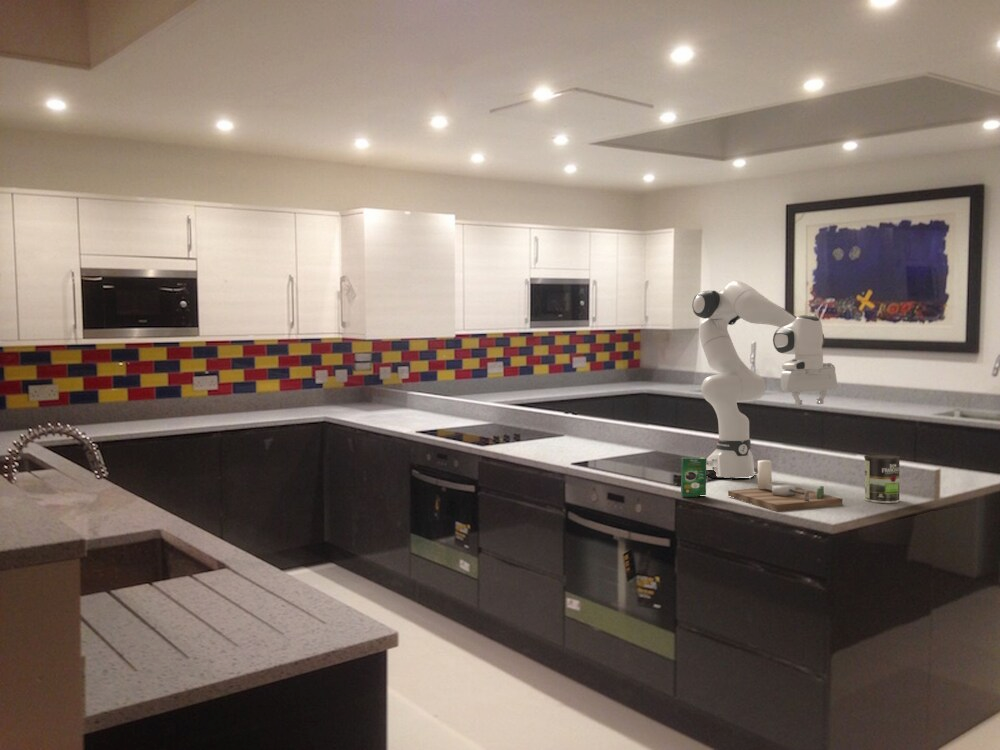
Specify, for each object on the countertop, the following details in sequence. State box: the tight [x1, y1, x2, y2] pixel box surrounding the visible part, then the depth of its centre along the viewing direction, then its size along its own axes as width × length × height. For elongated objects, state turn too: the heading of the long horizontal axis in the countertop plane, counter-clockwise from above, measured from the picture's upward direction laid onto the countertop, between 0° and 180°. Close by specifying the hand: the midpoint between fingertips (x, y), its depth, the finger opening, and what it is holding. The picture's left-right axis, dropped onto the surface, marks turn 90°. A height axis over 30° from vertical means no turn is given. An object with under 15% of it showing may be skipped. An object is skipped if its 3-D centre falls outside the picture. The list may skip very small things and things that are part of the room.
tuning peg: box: [757, 459, 805, 496], centre depth 275 cm, size 22×7×9 cm, turn 18°
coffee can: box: [863, 453, 901, 504], centre depth 271 cm, size 10×10×14 cm
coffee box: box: [680, 457, 707, 498], centre depth 284 cm, size 8×3×13 cm, turn 88°
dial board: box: [727, 485, 843, 512], centre depth 274 cm, size 26×24×5 cm
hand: (809, 404), depth 288 cm, fingers open, 7 cm apart
